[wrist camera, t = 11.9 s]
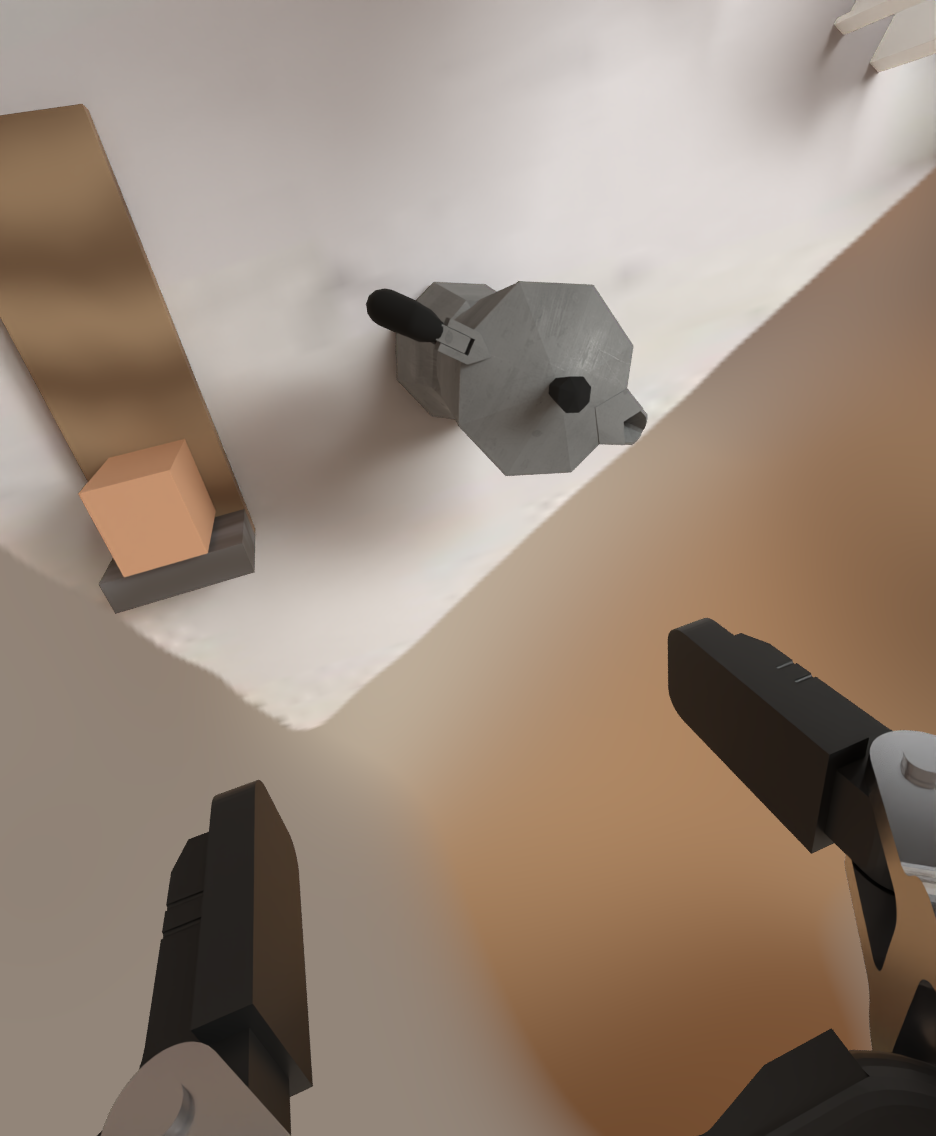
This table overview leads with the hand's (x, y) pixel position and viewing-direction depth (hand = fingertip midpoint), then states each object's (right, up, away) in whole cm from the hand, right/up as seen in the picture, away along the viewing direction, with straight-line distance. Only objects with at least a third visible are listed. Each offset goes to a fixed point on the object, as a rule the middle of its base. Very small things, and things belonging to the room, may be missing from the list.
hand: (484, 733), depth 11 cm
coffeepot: (-2, +18, +29) cm, 35 cm away
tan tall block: (-20, +8, +26) cm, 34 cm away
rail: (-21, +15, +24) cm, 35 cm away
